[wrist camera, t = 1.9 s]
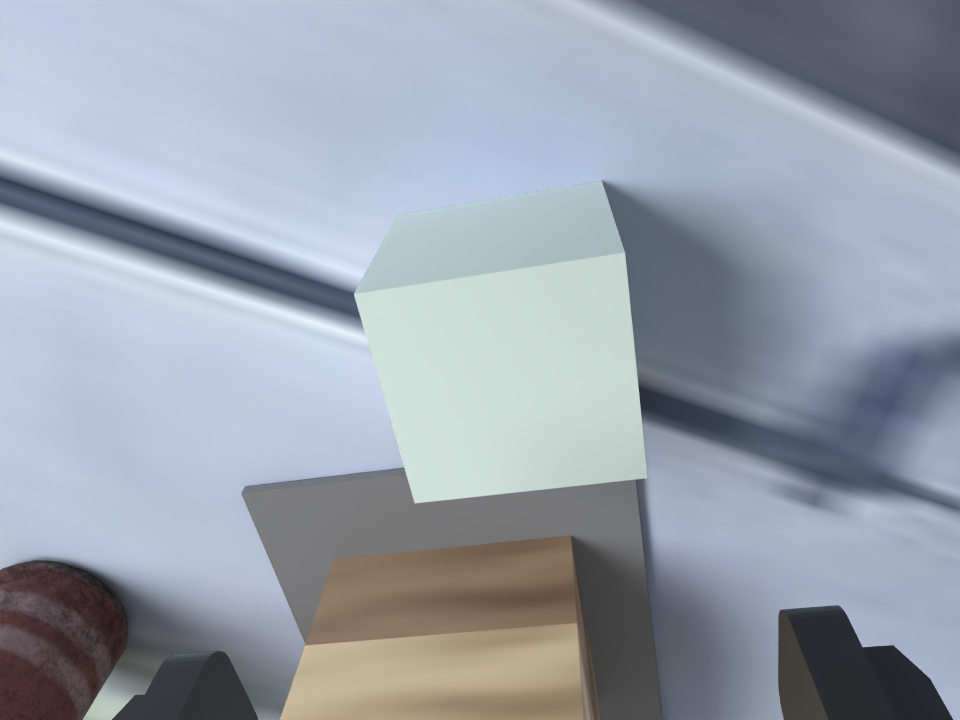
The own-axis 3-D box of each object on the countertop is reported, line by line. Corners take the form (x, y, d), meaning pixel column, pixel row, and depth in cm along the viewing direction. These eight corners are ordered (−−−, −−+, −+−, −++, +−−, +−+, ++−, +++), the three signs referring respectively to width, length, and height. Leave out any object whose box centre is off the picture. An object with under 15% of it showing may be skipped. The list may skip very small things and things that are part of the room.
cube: (397, 214, 21) (354, 294, 16) (601, 179, 21) (625, 252, 15) (440, 386, 24) (414, 503, 19) (621, 363, 23) (647, 478, 18)
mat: (245, 486, 27) (241, 493, 26) (630, 441, 25) (632, 448, 24) (359, 757, 34) (357, 765, 34) (663, 739, 32) (665, 748, 32)
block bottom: (333, 558, 27) (304, 645, 24) (570, 535, 26) (577, 623, 23) (391, 712, 32) (373, 806, 28) (598, 699, 30) (607, 794, 27)
